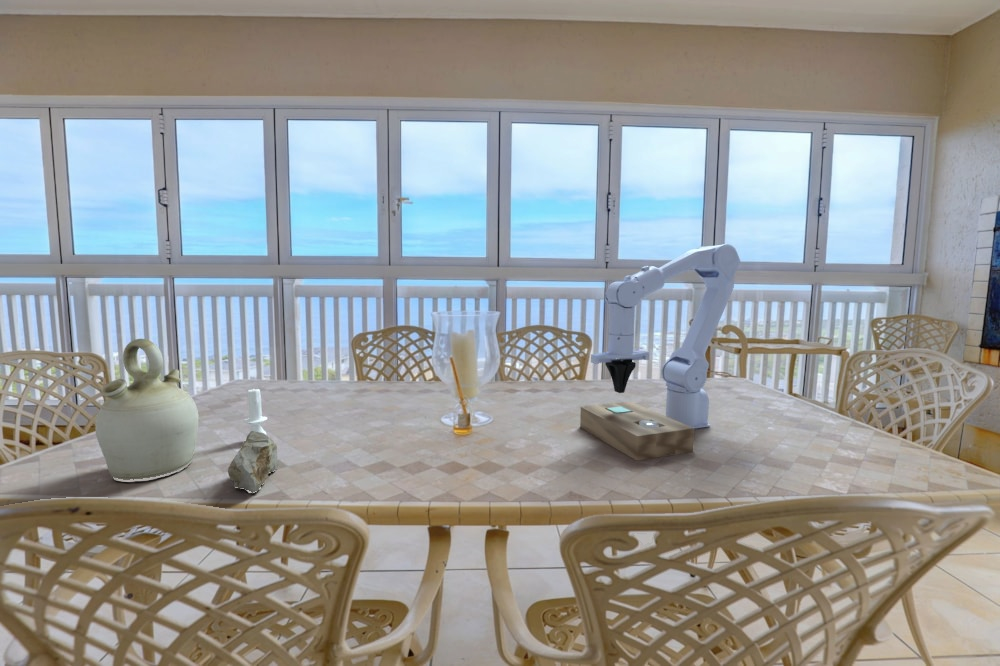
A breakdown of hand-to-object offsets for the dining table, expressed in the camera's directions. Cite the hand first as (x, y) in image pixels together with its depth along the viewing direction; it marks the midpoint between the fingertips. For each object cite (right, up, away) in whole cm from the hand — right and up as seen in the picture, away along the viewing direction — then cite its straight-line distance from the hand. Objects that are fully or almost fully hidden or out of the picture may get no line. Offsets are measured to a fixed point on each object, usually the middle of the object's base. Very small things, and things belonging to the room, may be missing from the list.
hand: (619, 391), depth 109 cm
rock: (-72, -13, -26) cm, 77 cm away
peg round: (+4, -10, -9) cm, 14 cm away
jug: (-93, -12, -20) cm, 96 cm away
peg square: (0, -9, +1) cm, 9 cm away
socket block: (+2, -10, -4) cm, 11 cm away
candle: (-82, -10, -5) cm, 83 cm away
